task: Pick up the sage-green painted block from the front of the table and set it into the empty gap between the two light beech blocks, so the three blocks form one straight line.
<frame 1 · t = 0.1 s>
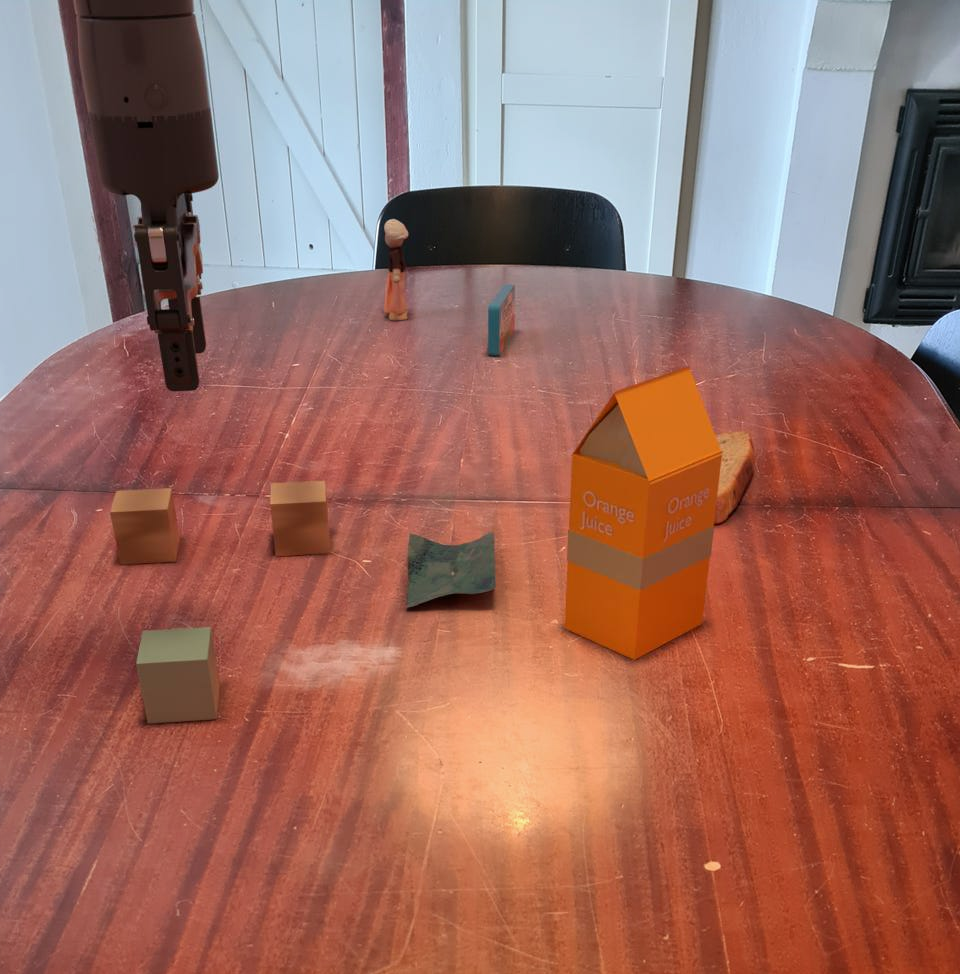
hand: (187, 370, 87), 21 cm above the table, tool pointing down, fingers open, 8 cm apart
beech block left: (150, 551, 114), on the table
orange juice: (632, 628, 102), on the table
beech block right: (303, 543, 115), on the table
bread slice: (703, 484, 127), on the table
teal flat box: (501, 345, 166), on the table
sage block: (184, 704, 92), on the table
terrain model: (451, 579, 109), on the table
grandmother figurine: (398, 318, 177), on the table
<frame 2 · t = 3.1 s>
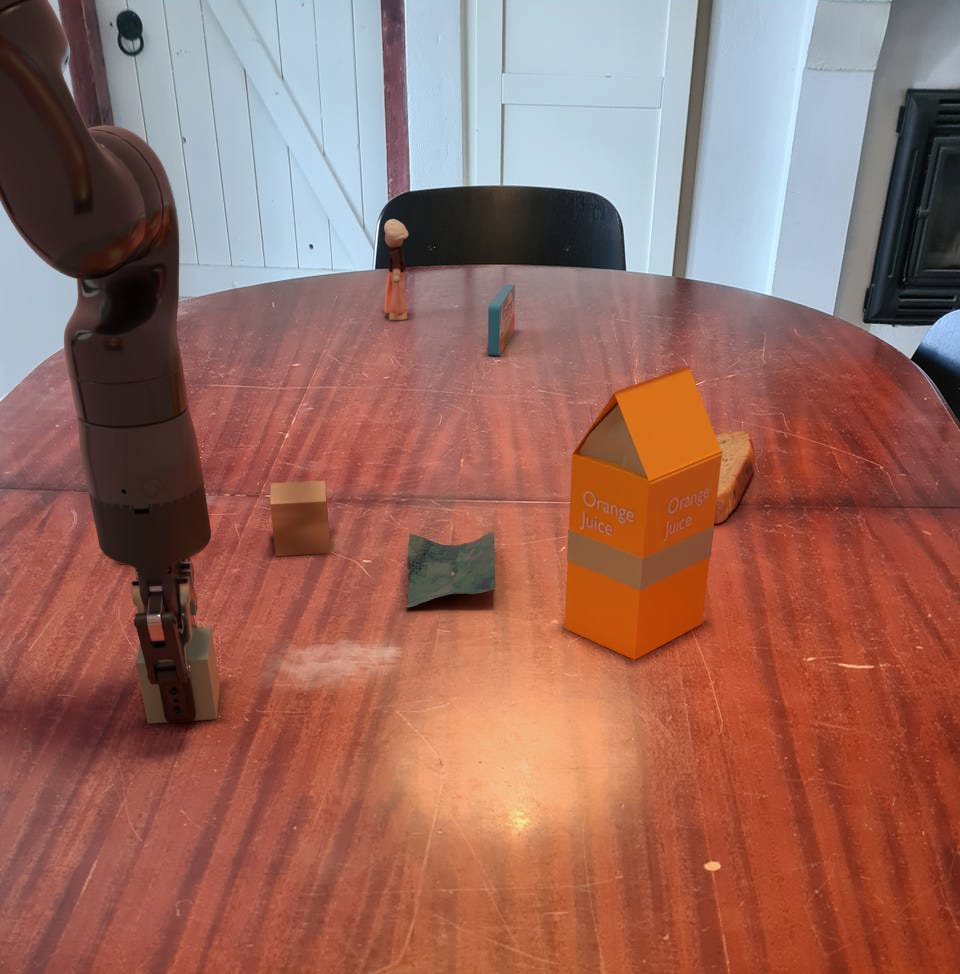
hand: (184, 699, 92), 0 cm above the table, tool pointing down, fingers closed on sage block, 5 cm apart
sage block: (184, 704, 92), on the table, touching gripper
everything else where it was.
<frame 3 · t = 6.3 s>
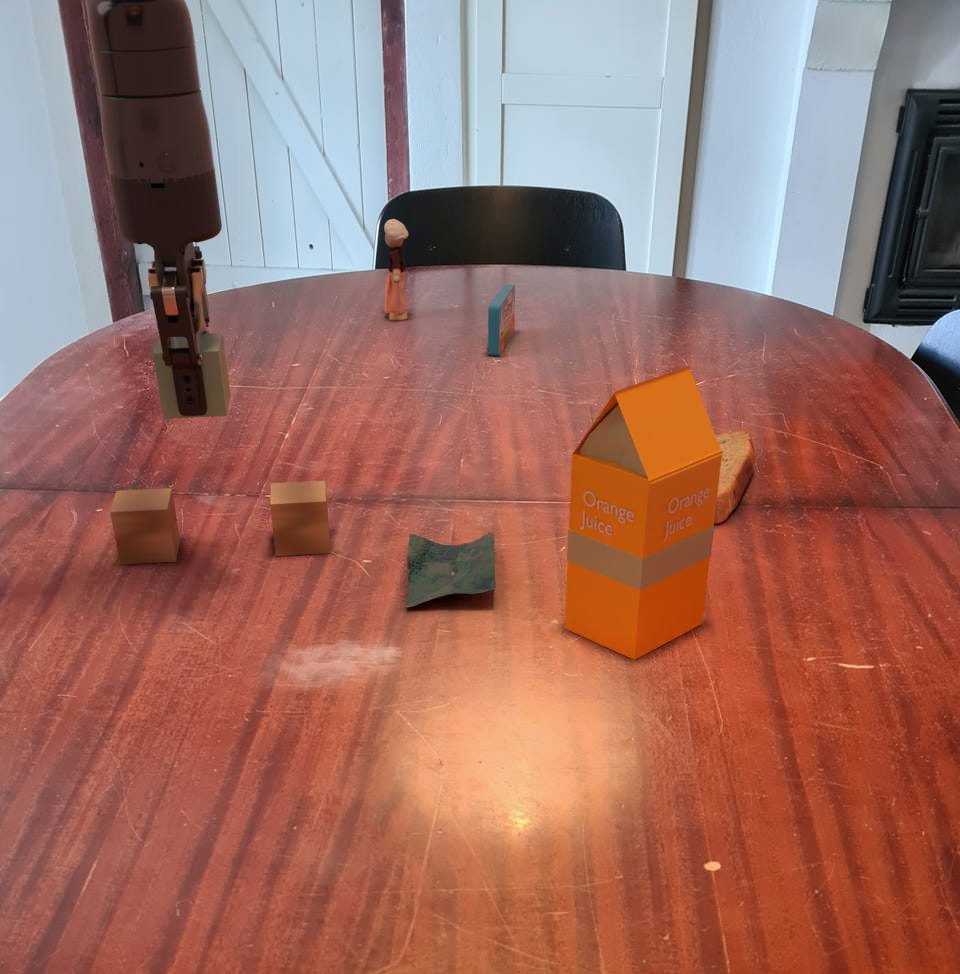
hand: (196, 401, 99), 16 cm above the table, tool pointing down, fingers closed on sage block, 5 cm apart
sage block: (197, 407, 100), point 15 cm above the table, touching gripper
everything else where it was.
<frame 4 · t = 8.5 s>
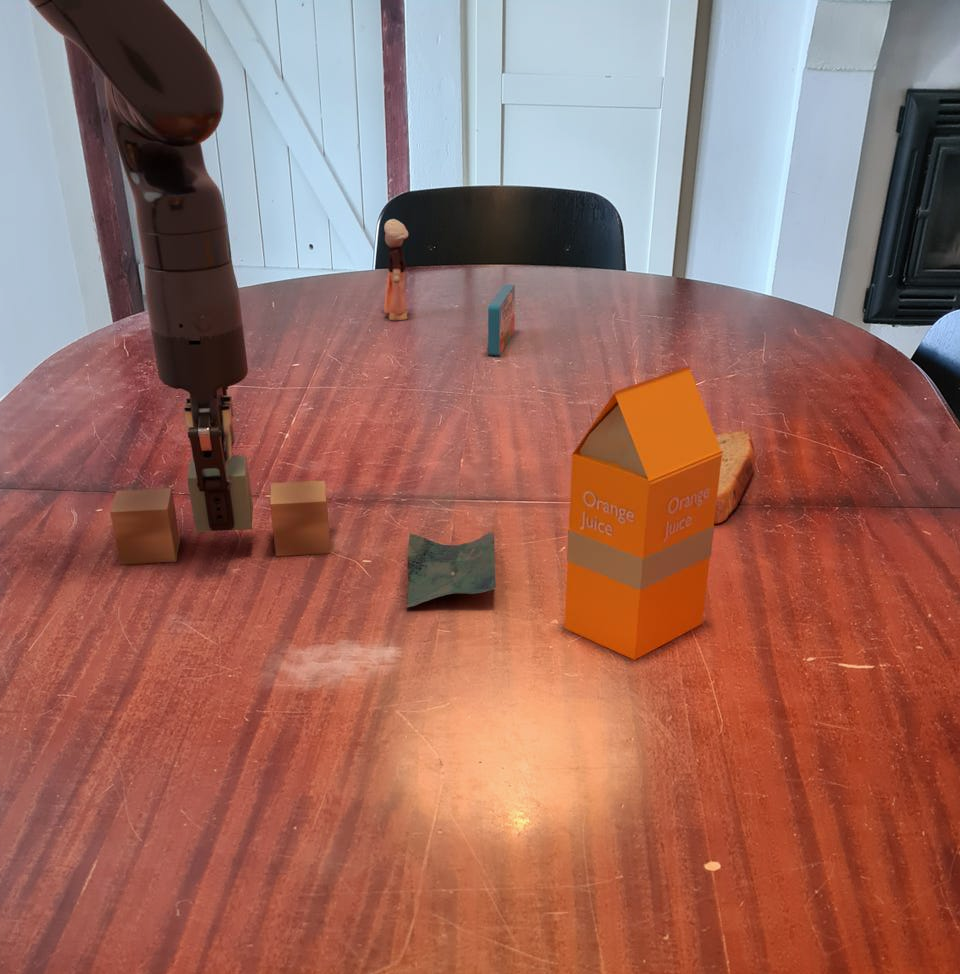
hand: (223, 515, 113), 3 cm above the table, tool pointing down, fingers closed on sage block, 5 cm apart
sage block: (224, 519, 113), point 3 cm above the table, touching gripper
everything else where it was.
when the fingers open (0 cm above the table, at t = 9.8 s): sage block stays where it is, on the table.
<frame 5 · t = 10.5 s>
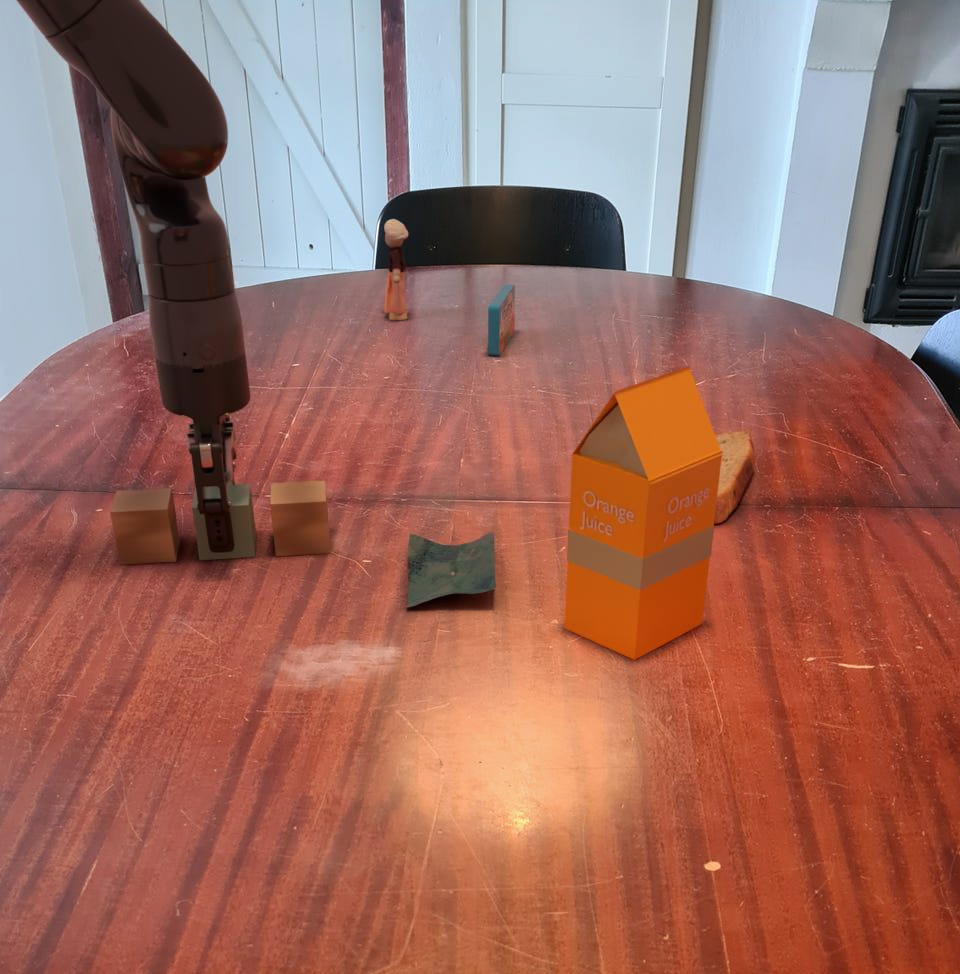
hand: (224, 531, 113), 2 cm above the table, tool pointing down, fingers open, 8 cm apart
sage block: (228, 547, 115), on the table
everything else where it was.
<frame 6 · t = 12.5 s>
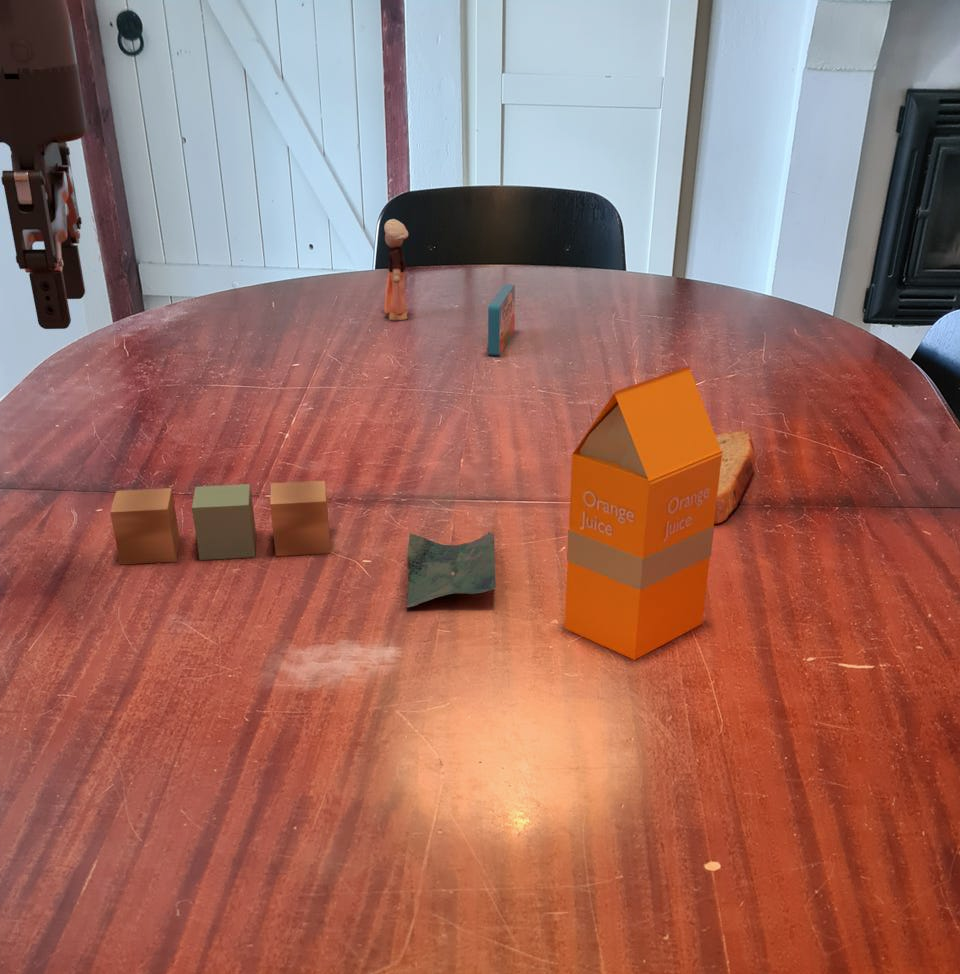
hand: (63, 312, 93), 23 cm above the table, tool pointing down, fingers open, 8 cm apart
nothing on the table moved.
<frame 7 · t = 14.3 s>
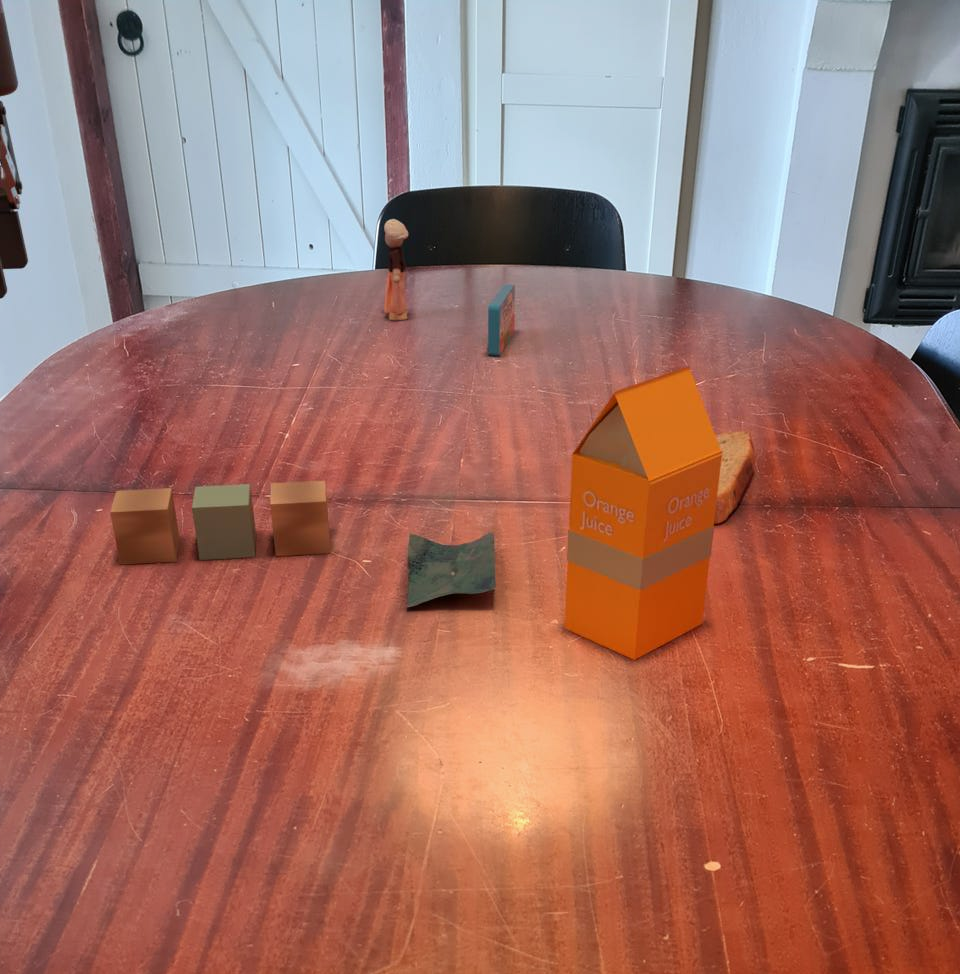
hand: (2, 282, 88), 26 cm above the table, tool pointing down, fingers open, 8 cm apart
nothing on the table moved.
at the end: sage block 0.1 cm from the target spot on the table beside the beech block left, on the table; sage block tilted 0°; beech block right moved 0.0 cm from its start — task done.
